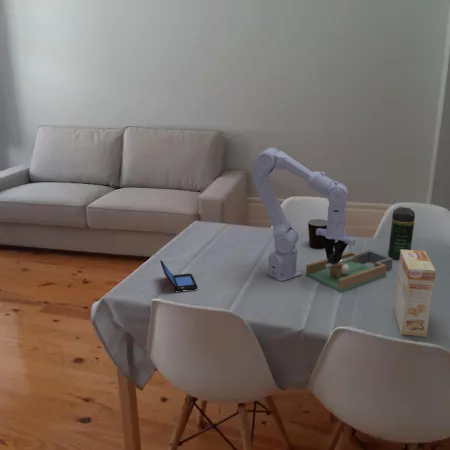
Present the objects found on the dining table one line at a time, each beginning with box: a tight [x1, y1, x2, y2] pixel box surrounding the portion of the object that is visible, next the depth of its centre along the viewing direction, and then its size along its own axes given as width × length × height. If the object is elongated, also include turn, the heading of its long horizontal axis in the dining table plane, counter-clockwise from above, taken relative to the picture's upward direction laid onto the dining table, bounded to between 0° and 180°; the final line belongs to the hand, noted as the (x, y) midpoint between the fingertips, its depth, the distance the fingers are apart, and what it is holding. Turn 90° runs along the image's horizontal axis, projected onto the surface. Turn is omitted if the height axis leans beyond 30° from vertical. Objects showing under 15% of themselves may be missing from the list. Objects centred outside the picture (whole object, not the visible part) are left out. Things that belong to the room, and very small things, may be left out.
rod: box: [324, 250, 368, 278], centre depth 176 cm, size 20×3×8 cm, turn 125°
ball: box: [341, 263, 349, 275], centre depth 176 cm, size 4×4×4 cm
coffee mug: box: [307, 218, 327, 250], centre depth 205 cm, size 12×9×10 cm
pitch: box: [305, 249, 394, 293], centre depth 179 cm, size 29×16×4 cm, turn 125°
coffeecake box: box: [393, 249, 437, 338], centre depth 144 cm, size 15×7×20 cm, turn 170°
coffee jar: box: [387, 206, 416, 261], centre depth 192 cm, size 10×8×19 cm
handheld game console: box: [159, 259, 198, 291], centre depth 171 cm, size 12×11×7 cm
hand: (333, 260), depth 172 cm, fingers closed on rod, 3 cm apart
